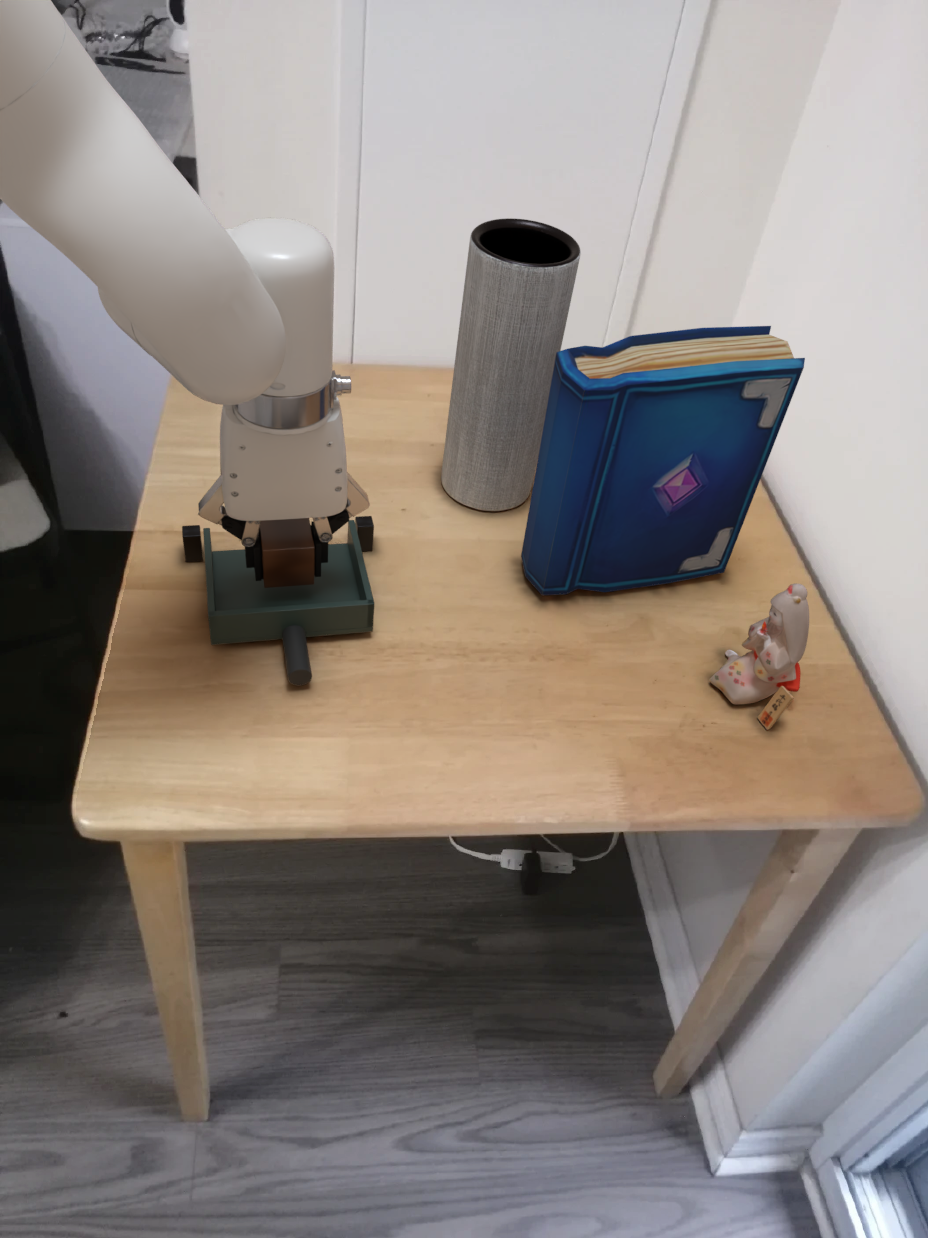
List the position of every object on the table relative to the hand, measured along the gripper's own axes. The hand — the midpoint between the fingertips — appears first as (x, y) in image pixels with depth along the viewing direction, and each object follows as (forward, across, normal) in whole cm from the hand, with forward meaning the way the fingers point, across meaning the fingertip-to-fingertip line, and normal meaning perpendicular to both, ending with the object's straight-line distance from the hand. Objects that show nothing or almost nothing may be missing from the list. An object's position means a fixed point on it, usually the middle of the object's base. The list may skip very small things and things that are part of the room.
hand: (286, 566), depth 84 cm
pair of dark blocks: (+4, 0, -6) cm, 7 cm away
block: (0, 0, 0) cm, 0 cm away
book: (+4, -33, 0) cm, 33 cm away
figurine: (+4, -40, +17) cm, 43 cm away
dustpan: (-1, 0, +3) cm, 3 cm away
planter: (+4, -23, -15) cm, 28 cm away
